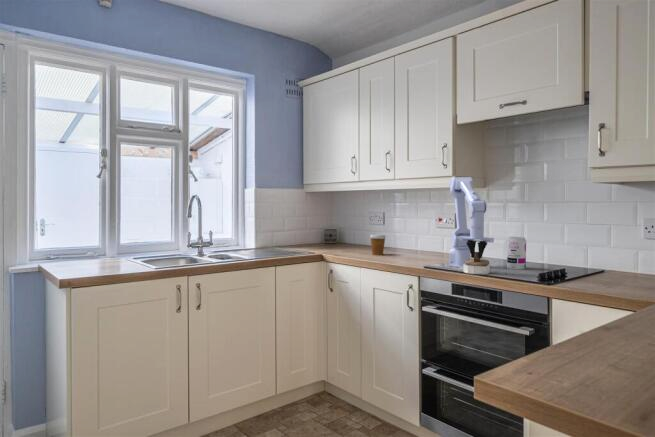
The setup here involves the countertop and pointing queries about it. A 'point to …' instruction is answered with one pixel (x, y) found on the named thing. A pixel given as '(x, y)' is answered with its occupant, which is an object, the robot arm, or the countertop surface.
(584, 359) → the countertop surface
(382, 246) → the disposable coffee cup
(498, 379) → the countertop surface
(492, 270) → the mat
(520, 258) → the supplement can
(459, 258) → the robot arm
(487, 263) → the lid
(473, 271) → the bowl
